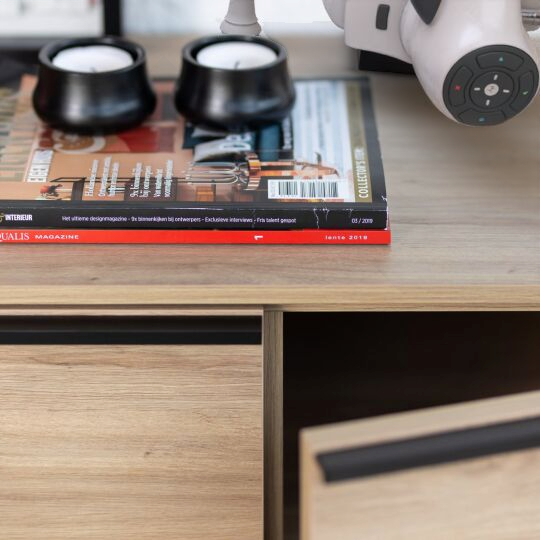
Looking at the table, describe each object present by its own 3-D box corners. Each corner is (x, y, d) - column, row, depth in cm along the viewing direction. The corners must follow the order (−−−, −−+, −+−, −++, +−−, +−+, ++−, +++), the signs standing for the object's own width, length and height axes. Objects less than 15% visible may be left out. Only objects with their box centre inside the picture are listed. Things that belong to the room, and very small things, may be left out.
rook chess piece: (211, 44, 97) (214, -35, 93) (228, 31, 101) (231, -46, 96) (251, 52, 96) (256, -27, 91) (267, 39, 99) (273, -38, 95)
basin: (445, 43, 102) (453, -1, 100) (455, 77, 94) (464, 30, 91) (355, 35, 102) (361, -9, 100) (358, 69, 94) (364, 22, 91)
